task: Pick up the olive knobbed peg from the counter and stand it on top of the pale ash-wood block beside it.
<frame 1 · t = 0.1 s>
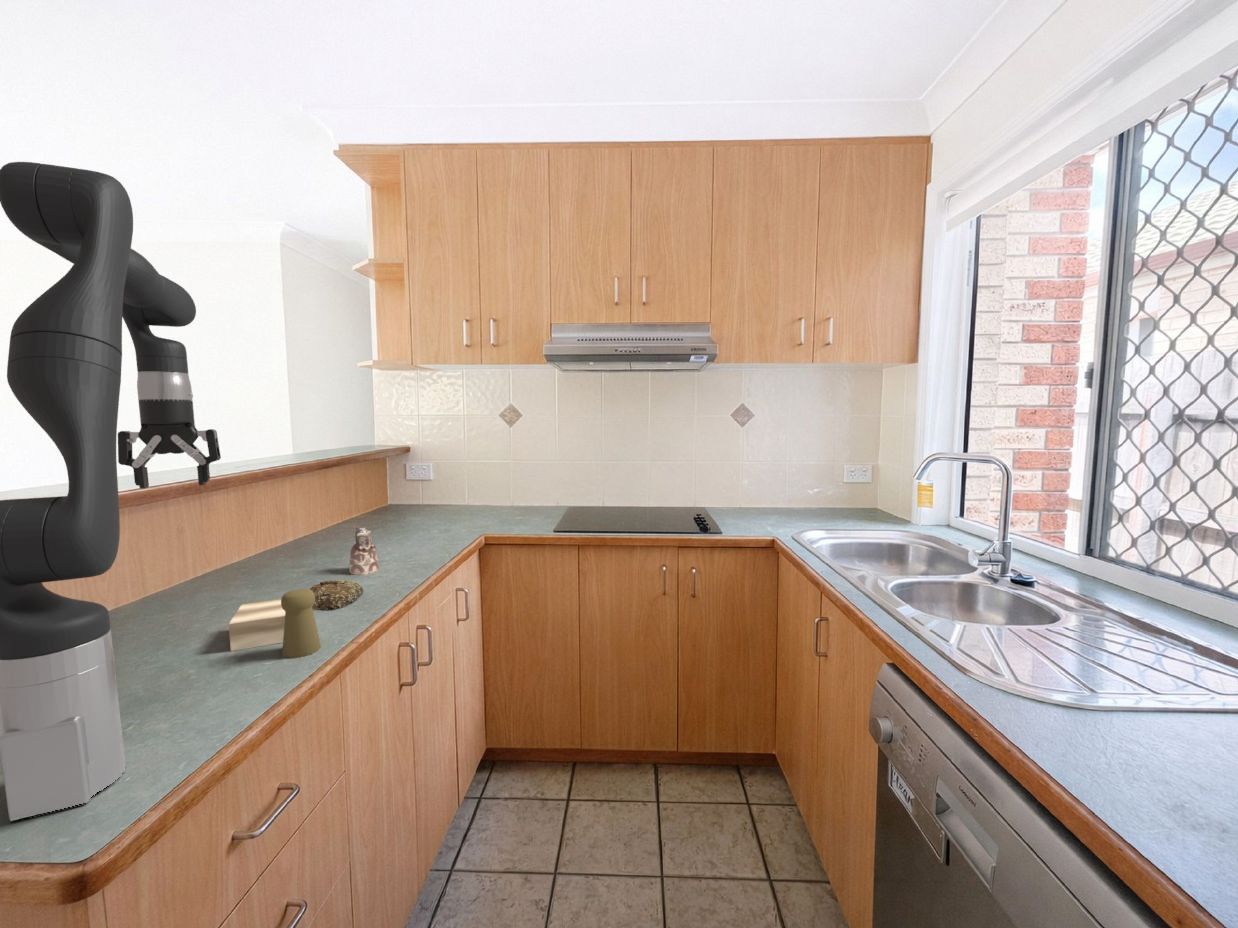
hand: (174, 486, 98), 29 cm above the counter, tool pointing down, fingers open, 8 cm apart
bread roll: (330, 602, 120), on the counter
figurine: (364, 571, 143), on the counter
olive knobbed peg: (302, 651, 95), on the counter
ash block: (272, 633, 102), on the counter
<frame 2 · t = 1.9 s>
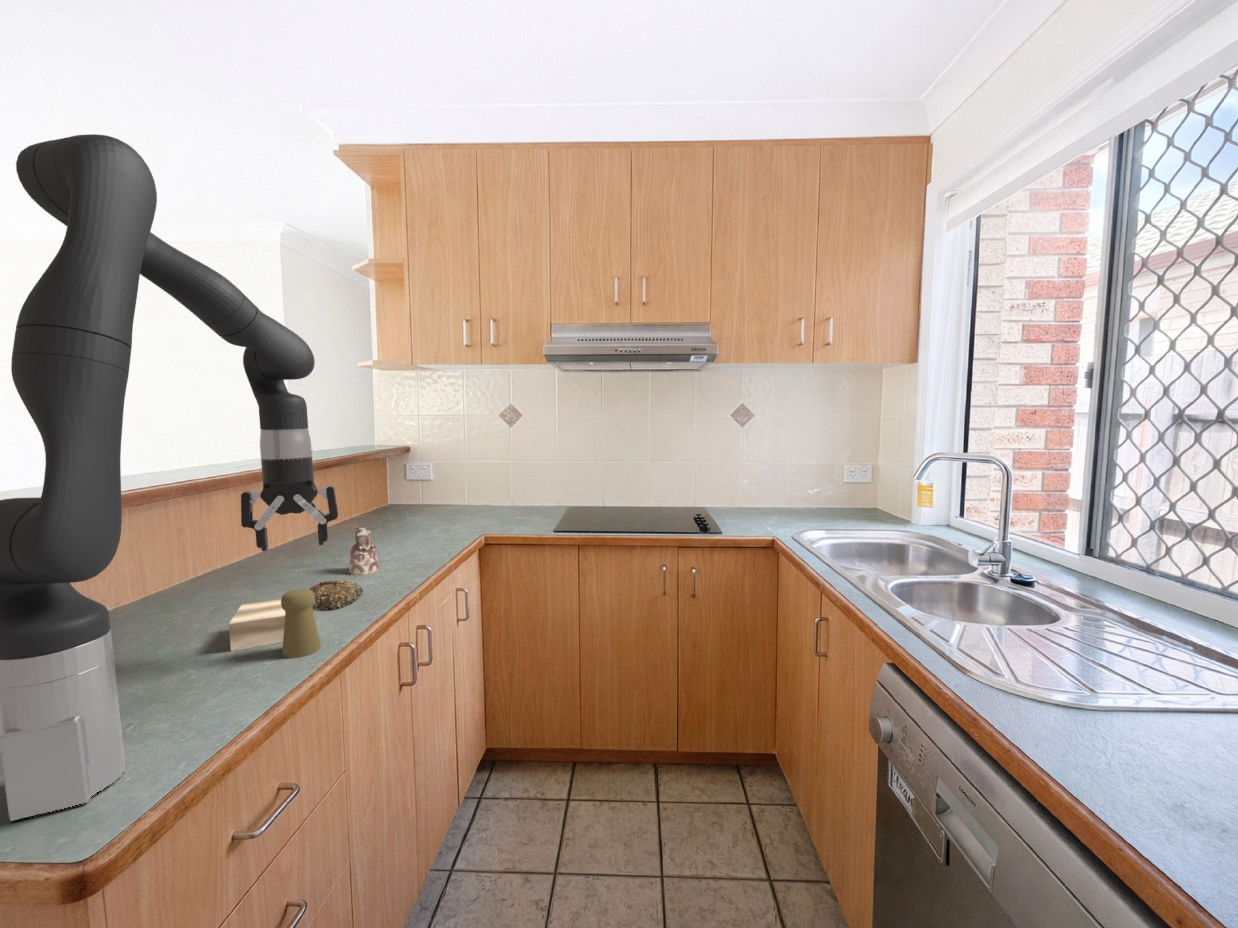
hand: (294, 547, 93), 19 cm above the counter, tool pointing down, fingers open, 8 cm apart
nothing on the counter moved.
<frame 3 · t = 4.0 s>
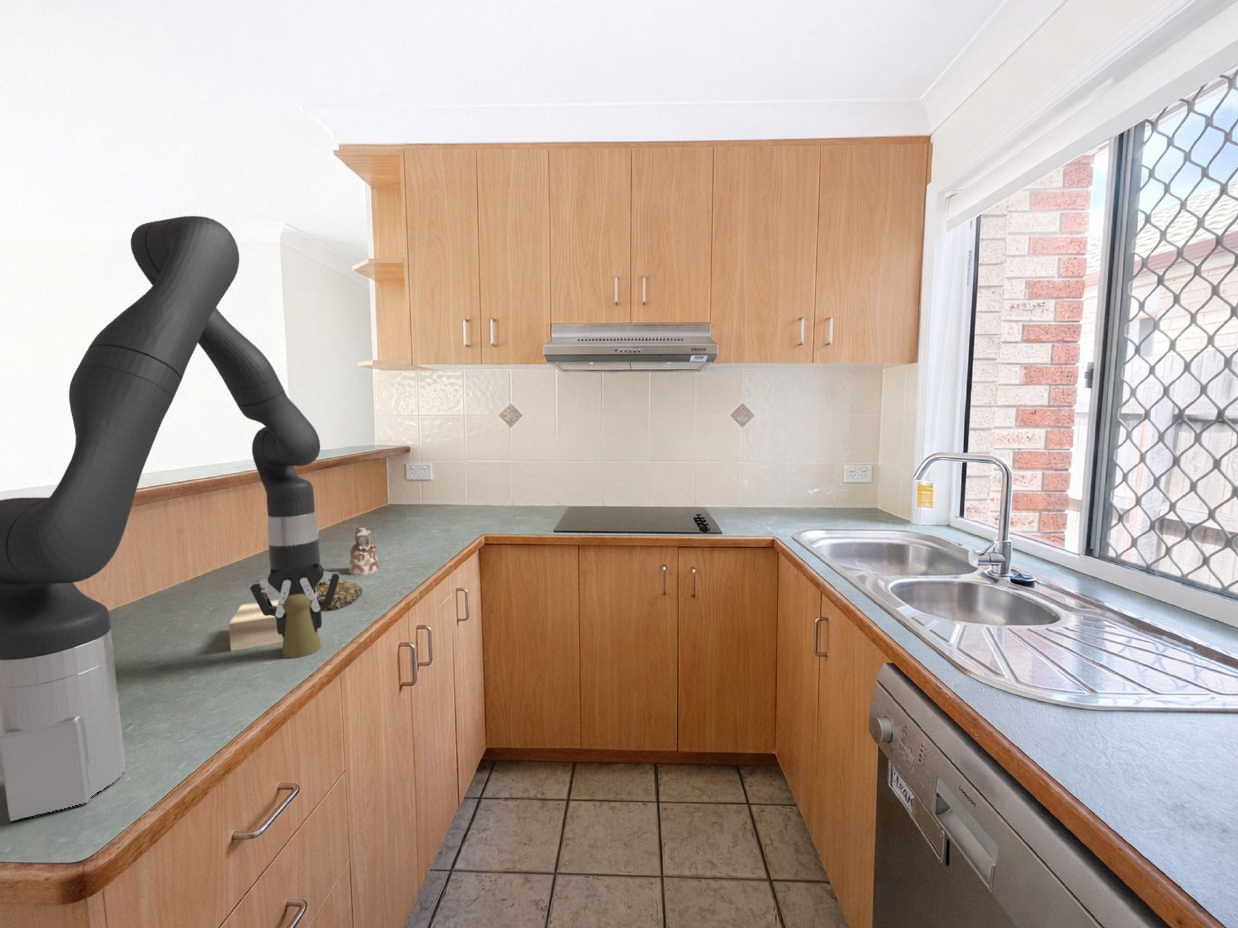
hand: (300, 632, 94), 3 cm above the counter, tool pointing down, fingers closed on olive knobbed peg, 4 cm apart
olive knobbed peg: (301, 651, 95), on the counter, touching gripper
everything else where it was.
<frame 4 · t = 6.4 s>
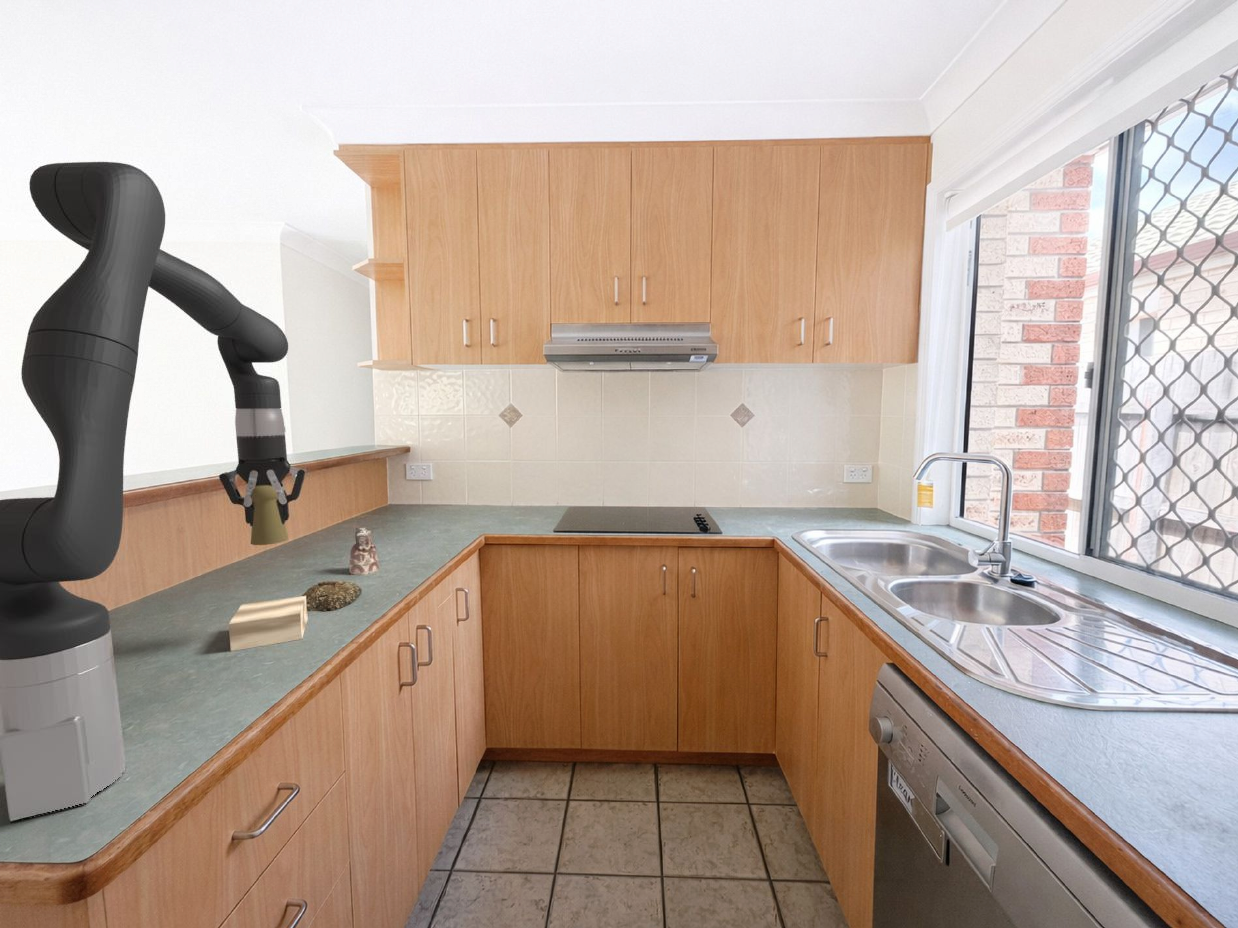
hand: (268, 523, 100), 22 cm above the counter, tool pointing down, fingers closed on olive knobbed peg, 4 cm apart
olive knobbed peg: (269, 541, 100), point 18 cm above the counter, touching gripper
everything else where it was.
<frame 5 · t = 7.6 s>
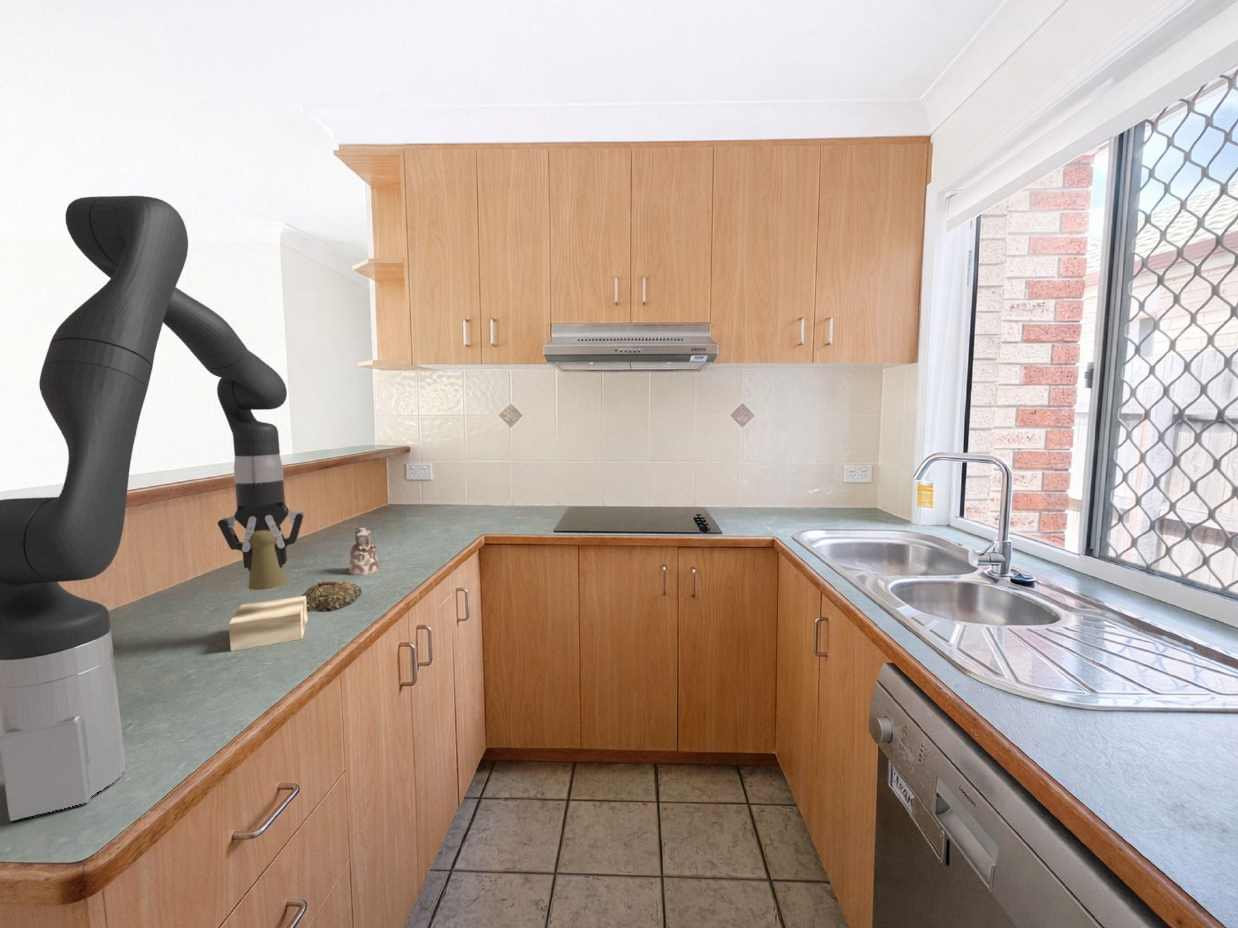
hand: (266, 567, 101), 13 cm above the counter, tool pointing down, fingers closed on olive knobbed peg, 4 cm apart
olive knobbed peg: (267, 585, 101), point 10 cm above the counter, touching gripper
everything else where it was.
when the fingers open (10 cm above the counter, at t = 8.8 s): olive knobbed peg stays where it is, resting on ash block.
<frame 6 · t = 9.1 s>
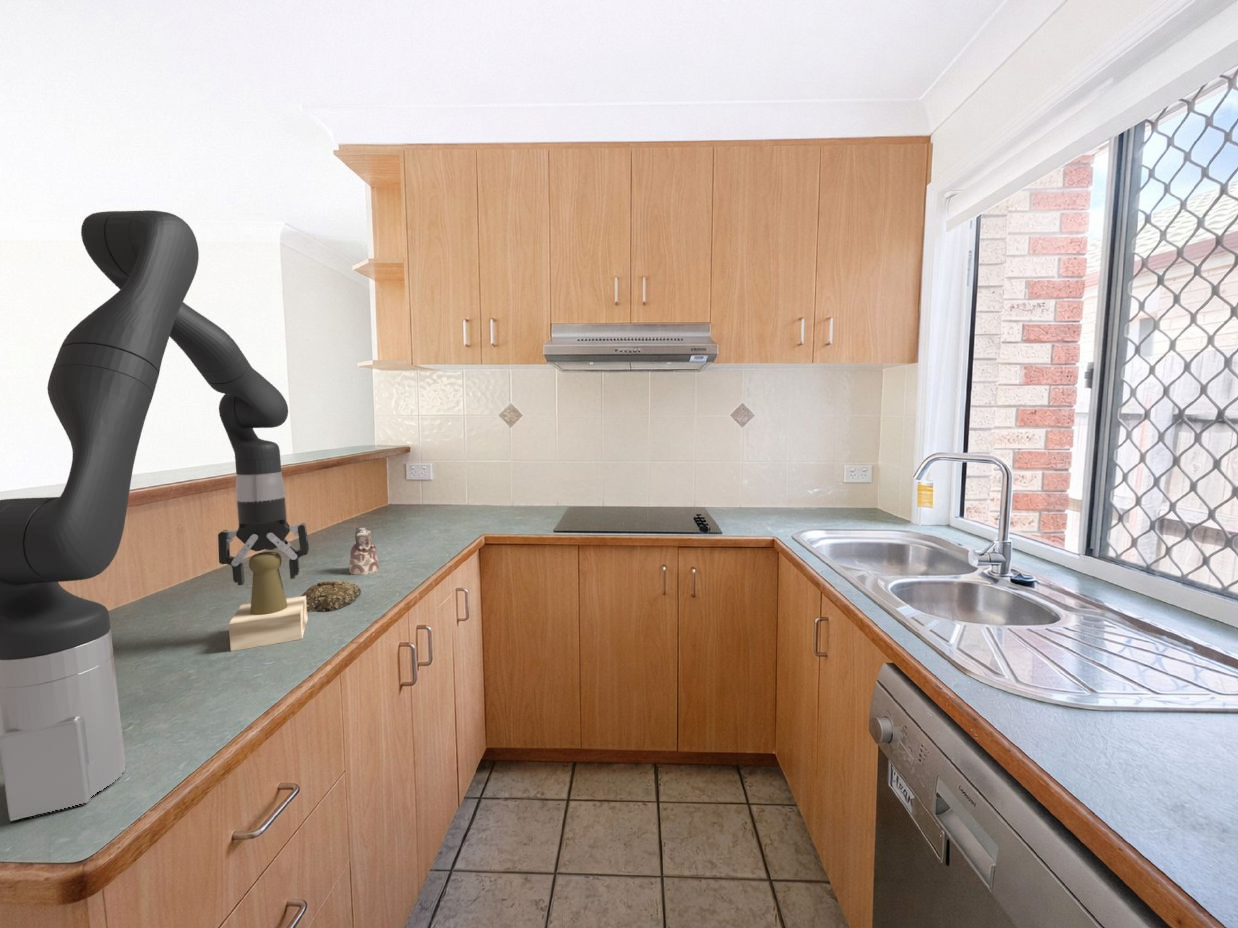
hand: (267, 580, 101), 11 cm above the counter, tool pointing down, fingers open, 8 cm apart
olive knobbed peg: (269, 609, 102), point 5 cm above the counter, touching ash block
everything else where it was.
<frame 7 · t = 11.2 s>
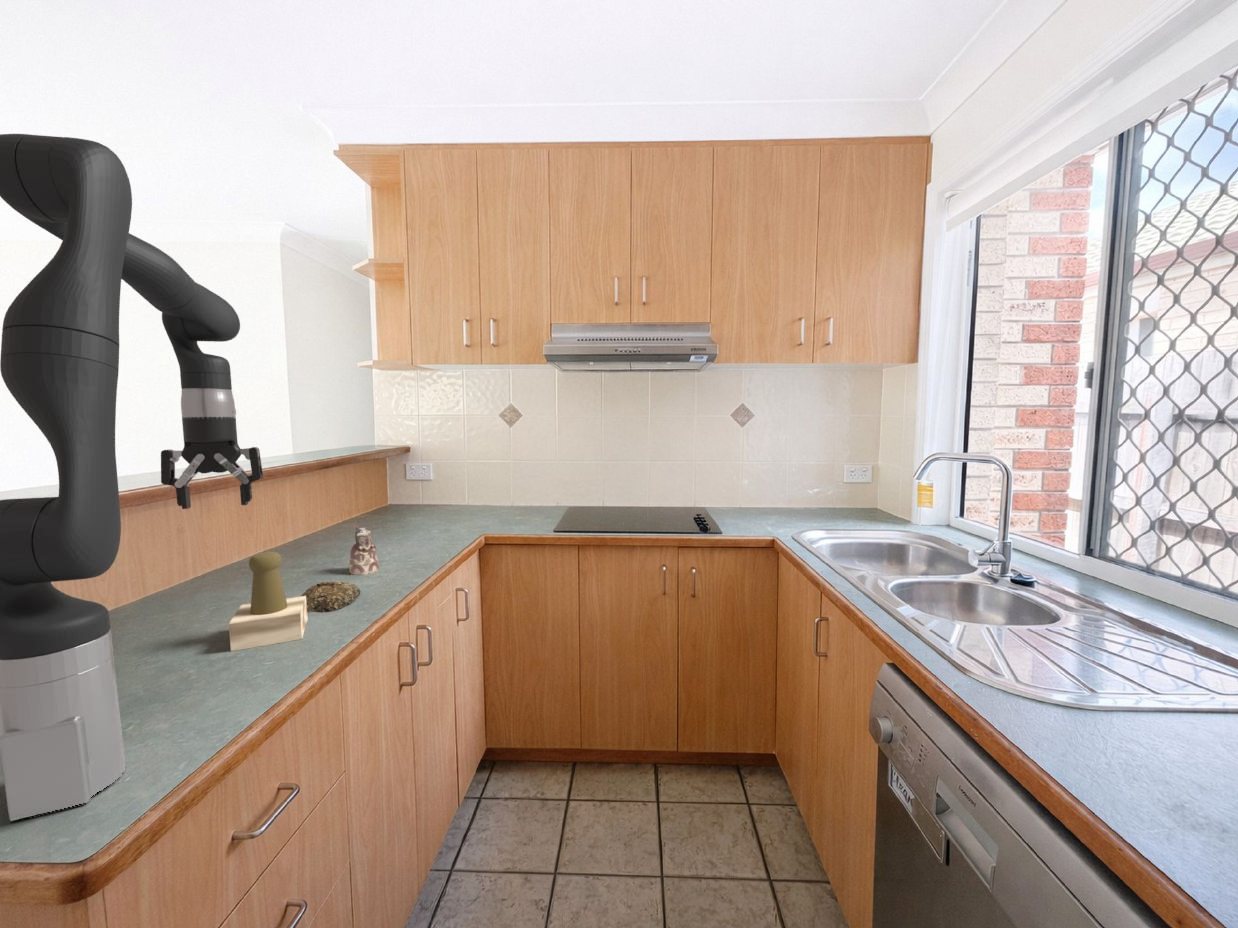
hand: (216, 506, 94), 26 cm above the counter, tool pointing down, fingers open, 8 cm apart
nothing on the counter moved.
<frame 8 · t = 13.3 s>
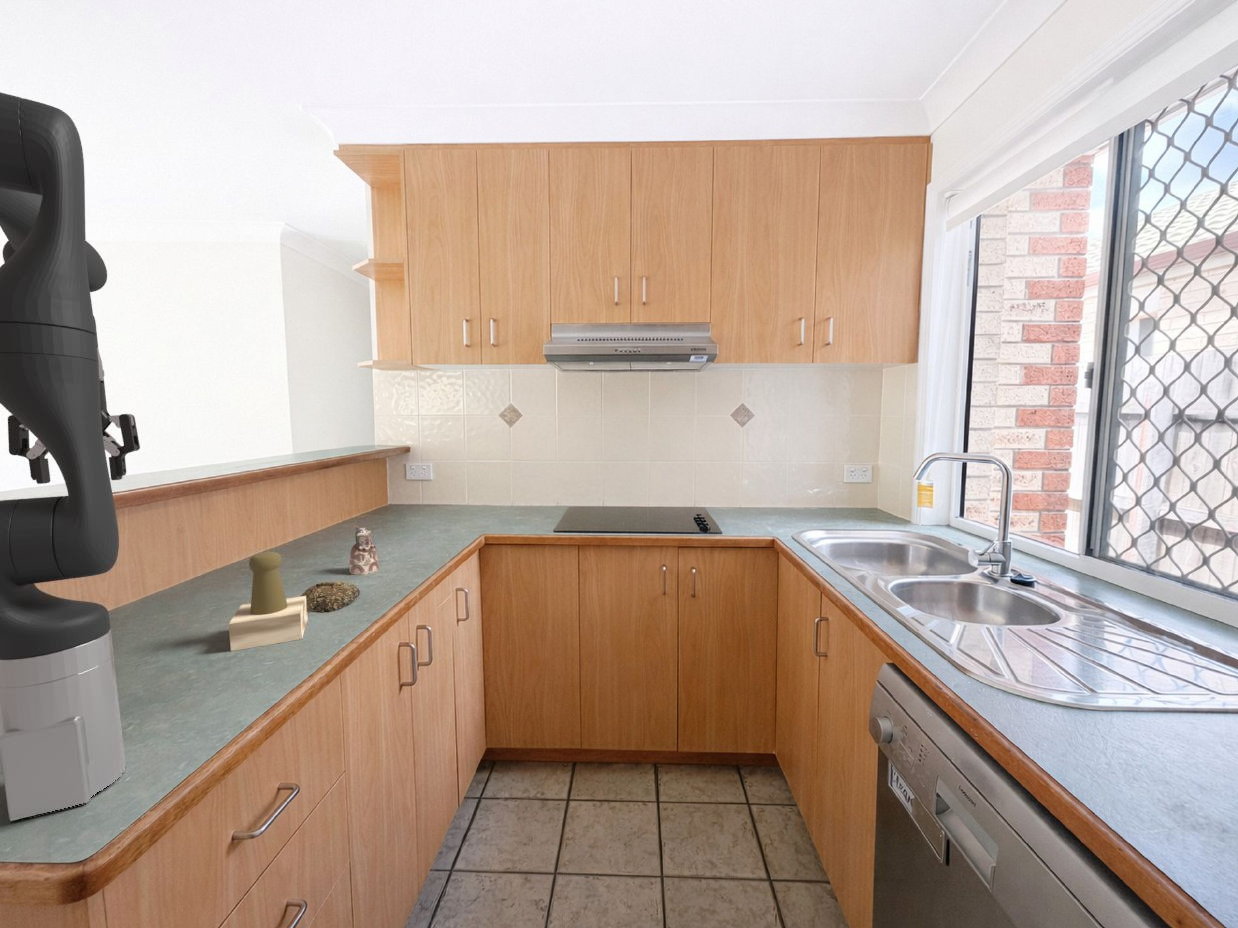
hand: (81, 481, 82), 32 cm above the counter, tool pointing down, fingers open, 8 cm apart
at the end: olive knobbed peg inside the target area on the ash block (0.1 cm from its centre), point 4.8 cm above the ash block's base; olive knobbed peg tilted 0°; the gripper is holding nothing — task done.
